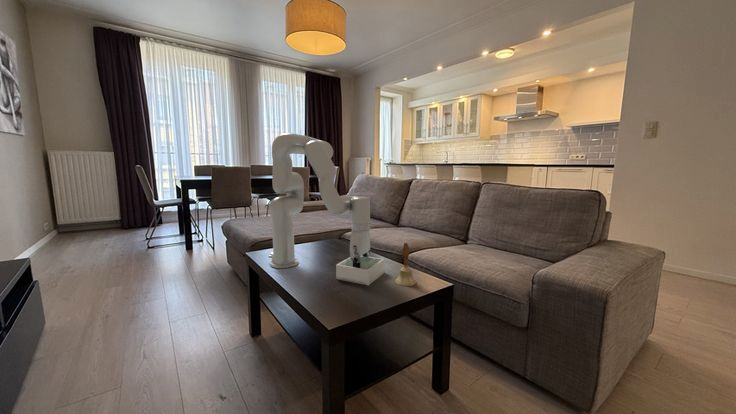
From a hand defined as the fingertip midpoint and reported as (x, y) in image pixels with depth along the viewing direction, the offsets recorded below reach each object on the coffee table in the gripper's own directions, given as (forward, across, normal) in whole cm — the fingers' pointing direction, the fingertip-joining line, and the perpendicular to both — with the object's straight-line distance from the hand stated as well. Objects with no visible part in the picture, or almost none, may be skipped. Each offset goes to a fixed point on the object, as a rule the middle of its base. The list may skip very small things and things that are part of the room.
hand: (360, 268), depth 126 cm
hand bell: (+3, -2, +19) cm, 20 cm away
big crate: (+3, 0, 0) cm, 3 cm away
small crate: (+1, 0, 0) cm, 1 cm away
